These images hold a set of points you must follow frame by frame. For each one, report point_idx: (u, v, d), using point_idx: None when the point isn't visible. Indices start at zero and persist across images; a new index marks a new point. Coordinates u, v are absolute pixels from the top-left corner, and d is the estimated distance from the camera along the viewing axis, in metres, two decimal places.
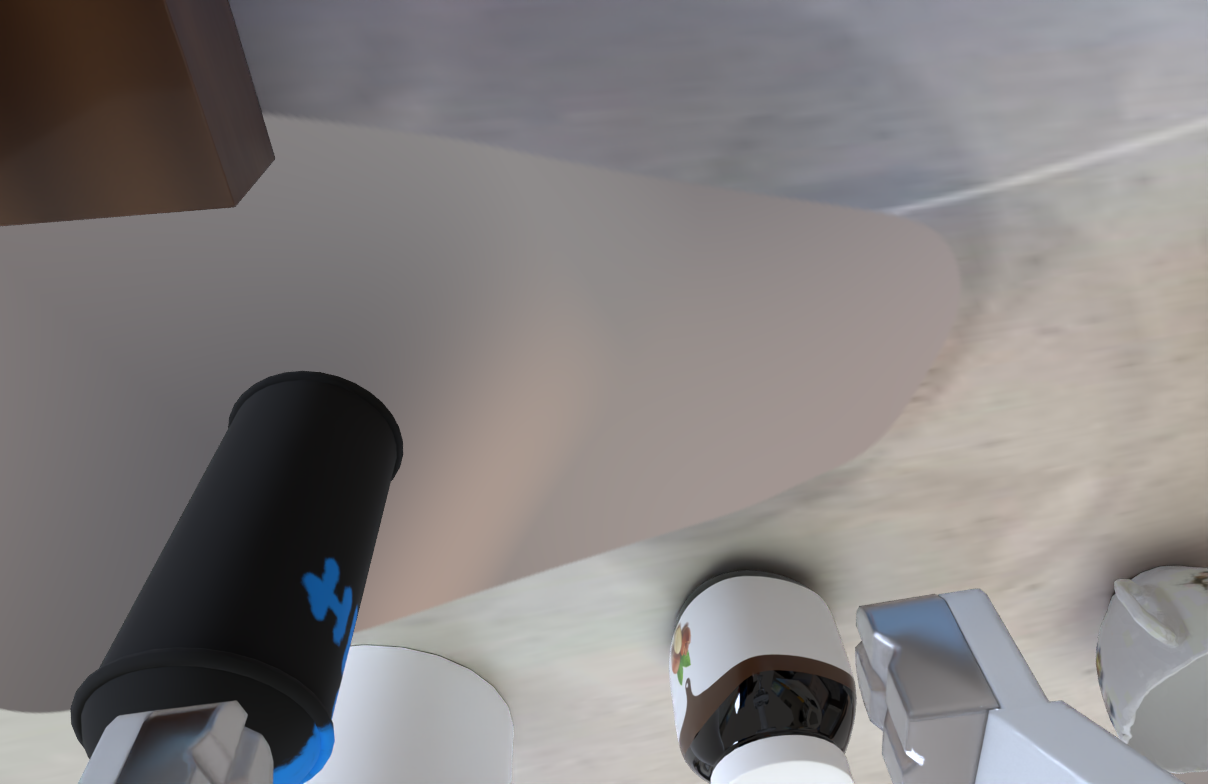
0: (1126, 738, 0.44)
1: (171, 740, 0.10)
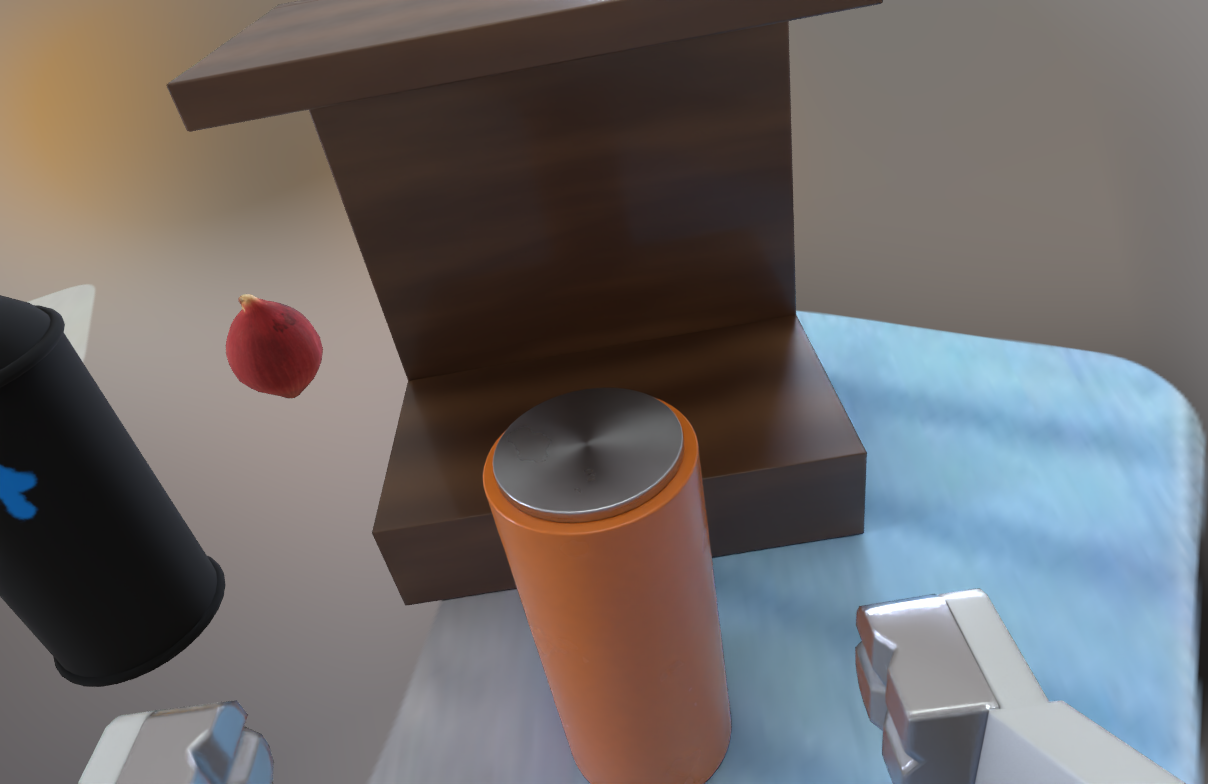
0: None
1: (171, 740, 0.10)
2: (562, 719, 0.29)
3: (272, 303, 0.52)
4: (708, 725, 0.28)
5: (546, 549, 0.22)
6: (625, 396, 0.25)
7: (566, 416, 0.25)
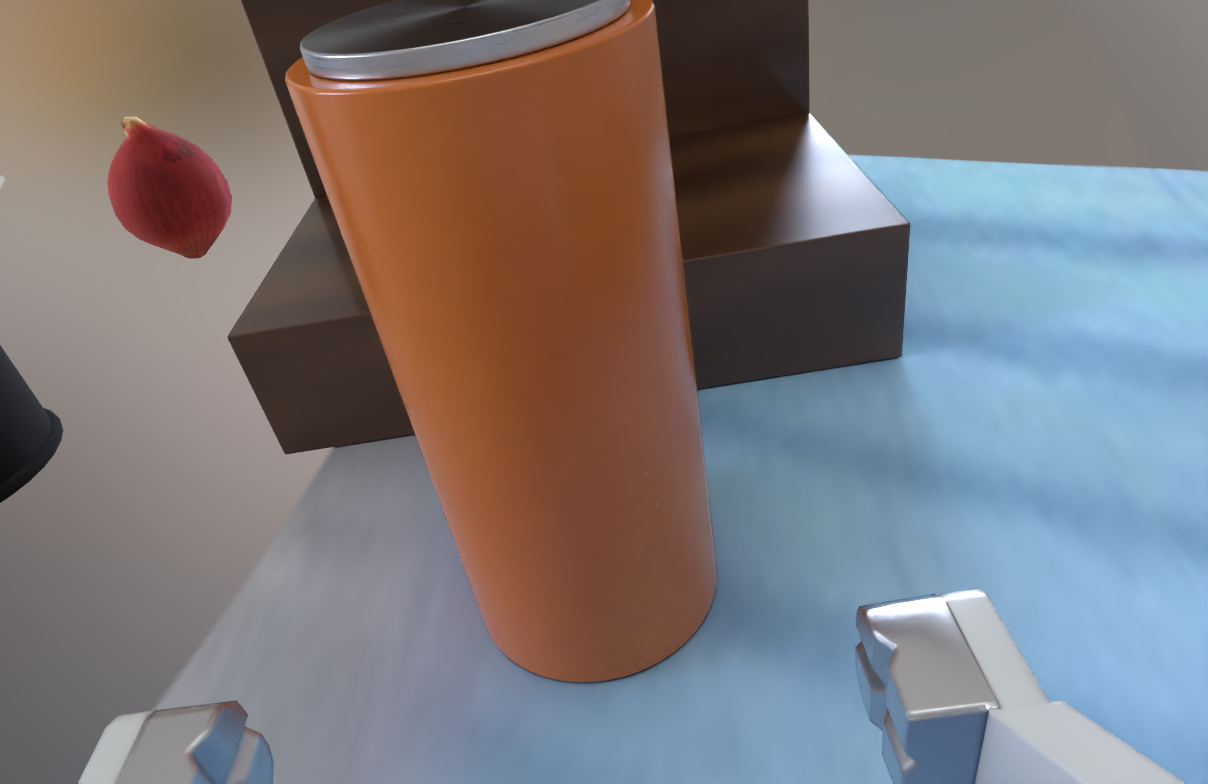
0: None
1: (171, 740, 0.10)
2: (458, 547, 0.19)
3: (165, 131, 0.43)
4: (678, 551, 0.18)
5: (373, 135, 0.12)
6: None
7: None
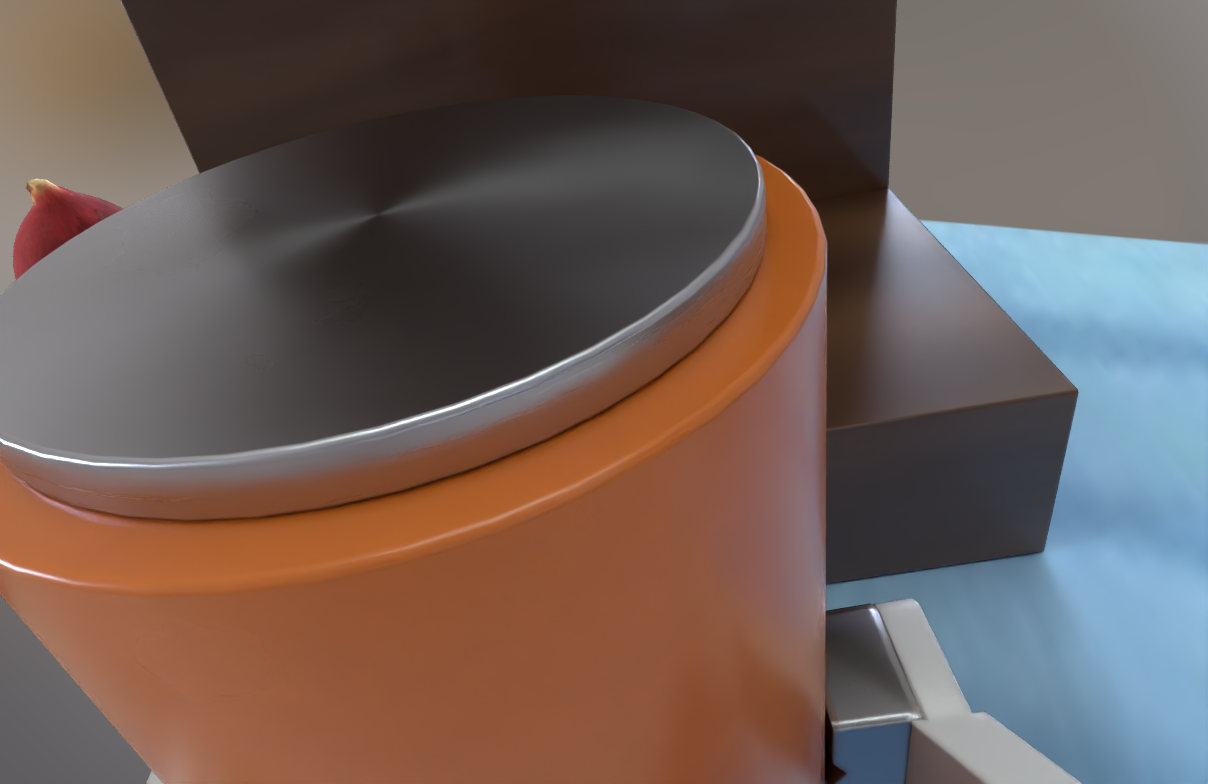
0: None
1: None
2: None
3: (82, 195, 0.35)
4: None
5: (91, 657, 0.04)
6: (552, 107, 0.08)
7: (346, 159, 0.07)
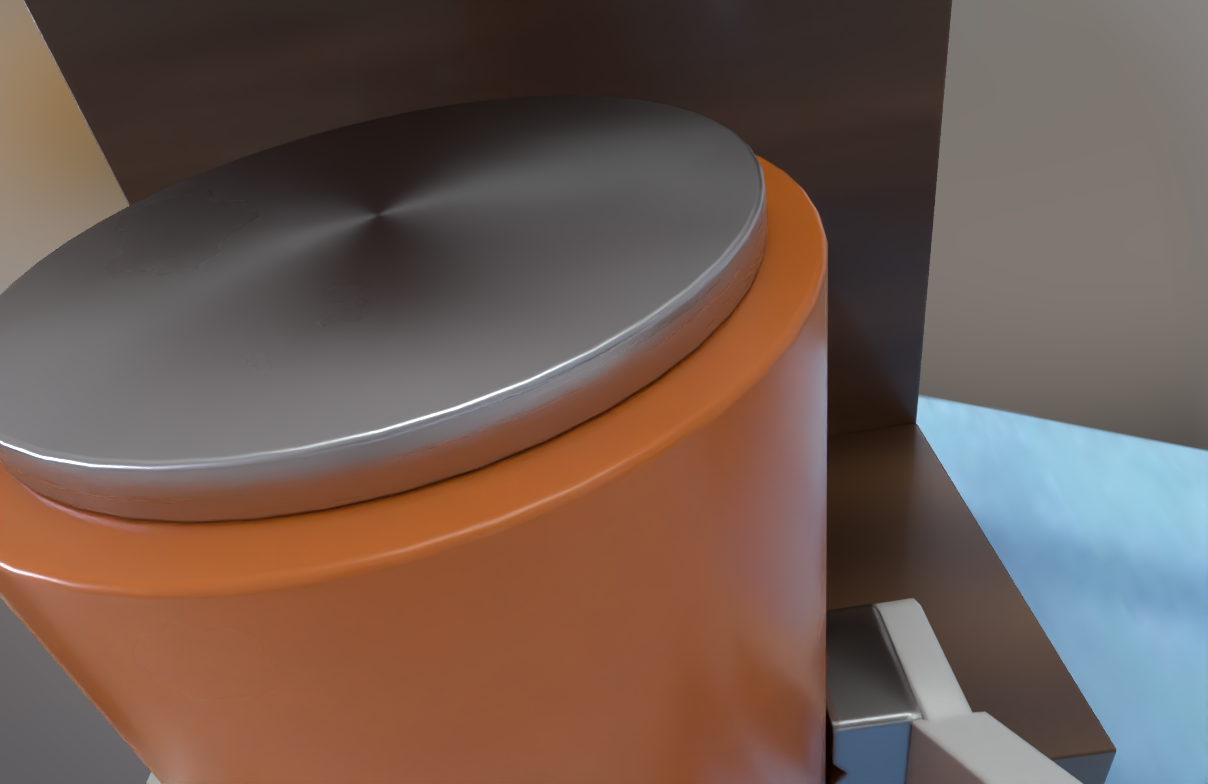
0: None
1: None
2: None
3: None
4: None
5: (89, 658, 0.04)
6: (552, 107, 0.08)
7: (345, 159, 0.07)
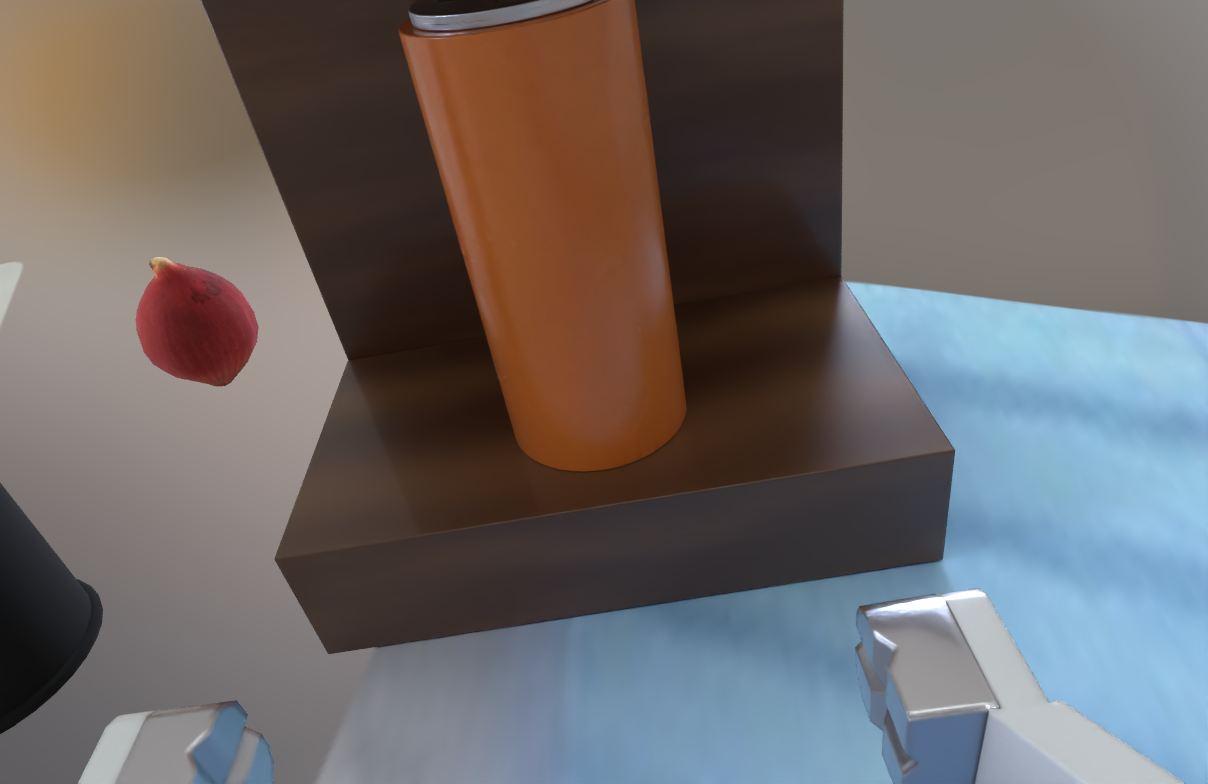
0: None
1: (171, 740, 0.10)
2: (500, 373, 0.27)
3: (192, 269, 0.43)
4: (655, 370, 0.26)
5: (461, 63, 0.20)
6: None
7: None
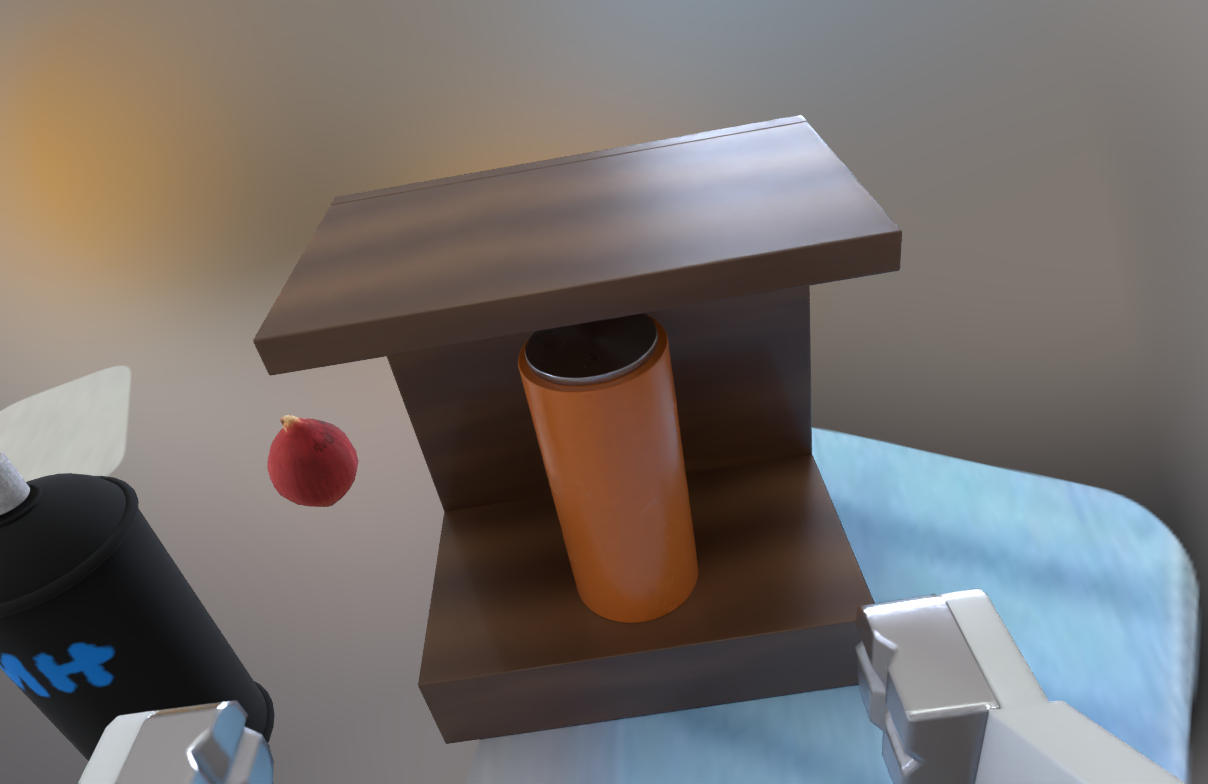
0: None
1: (171, 740, 0.10)
2: (571, 557, 0.39)
3: (312, 422, 0.55)
4: (678, 558, 0.39)
5: (563, 405, 0.32)
6: None
7: None
